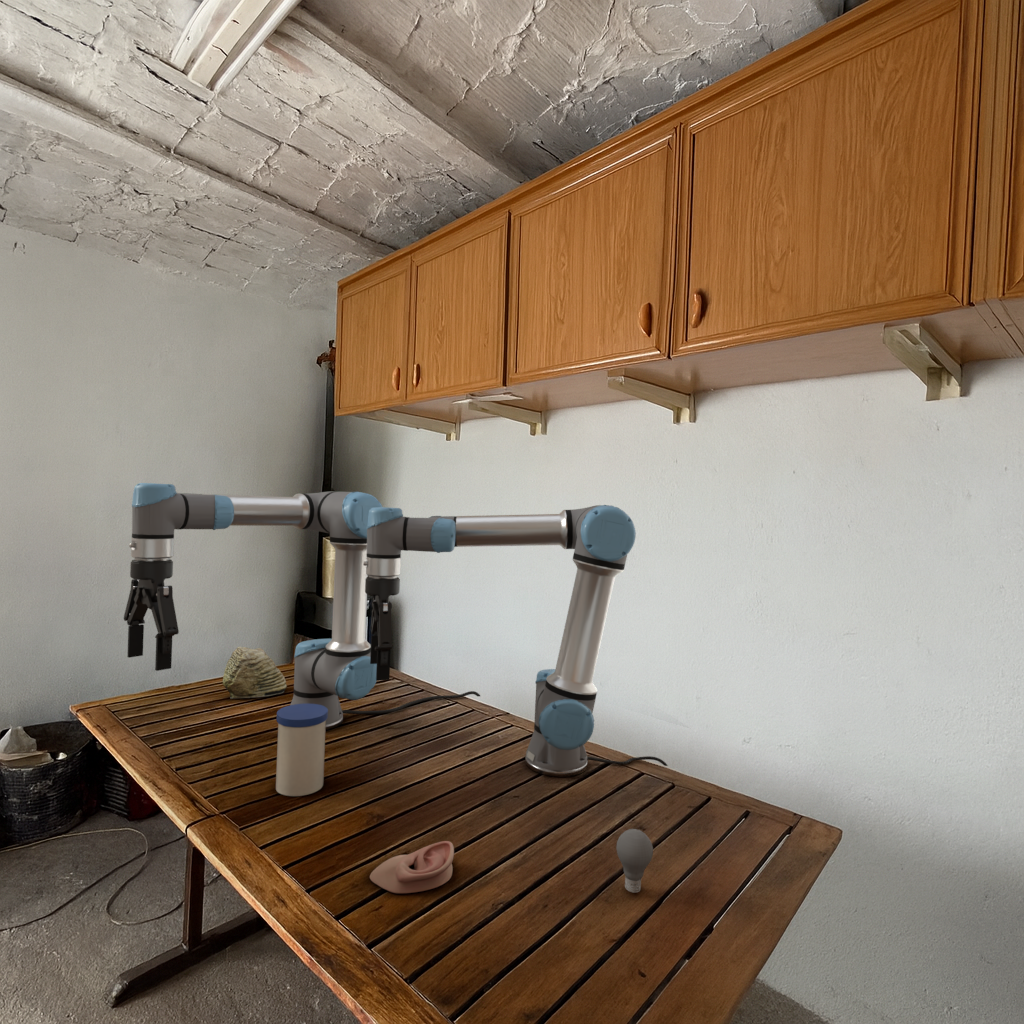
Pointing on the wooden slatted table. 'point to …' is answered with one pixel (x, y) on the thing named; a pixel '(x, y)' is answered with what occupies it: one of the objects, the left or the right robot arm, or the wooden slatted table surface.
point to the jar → (300, 759)
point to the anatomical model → (416, 869)
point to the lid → (302, 715)
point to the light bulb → (634, 857)
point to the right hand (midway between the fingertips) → (379, 671)
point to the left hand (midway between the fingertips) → (148, 662)
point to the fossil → (252, 674)
